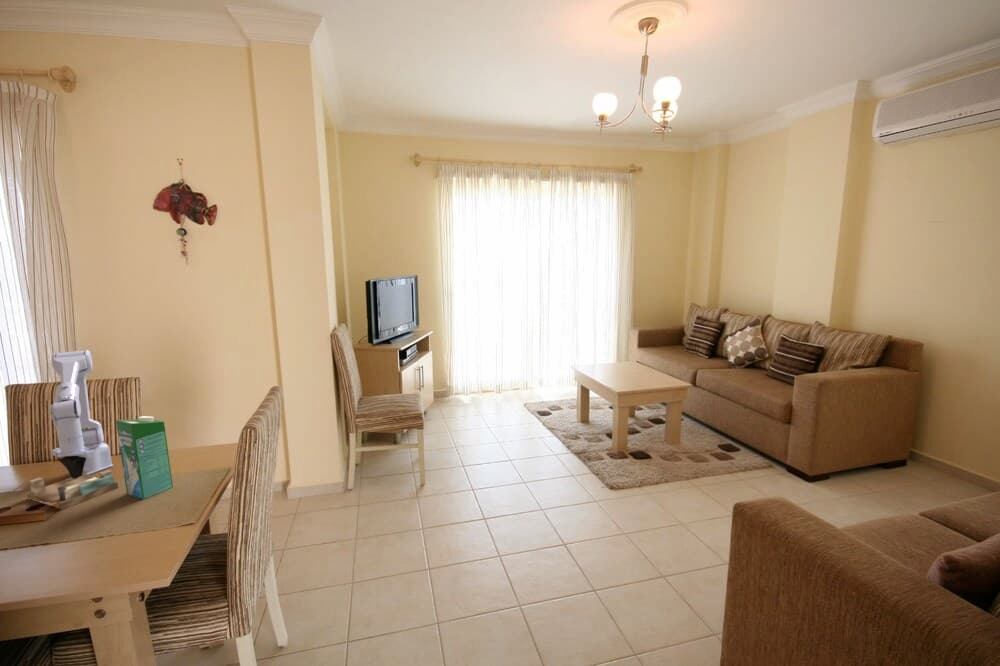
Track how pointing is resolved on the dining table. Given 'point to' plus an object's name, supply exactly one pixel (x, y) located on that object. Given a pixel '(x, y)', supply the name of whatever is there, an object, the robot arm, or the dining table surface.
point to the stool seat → (86, 490)
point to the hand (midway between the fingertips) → (77, 476)
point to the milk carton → (144, 456)
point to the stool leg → (72, 489)
